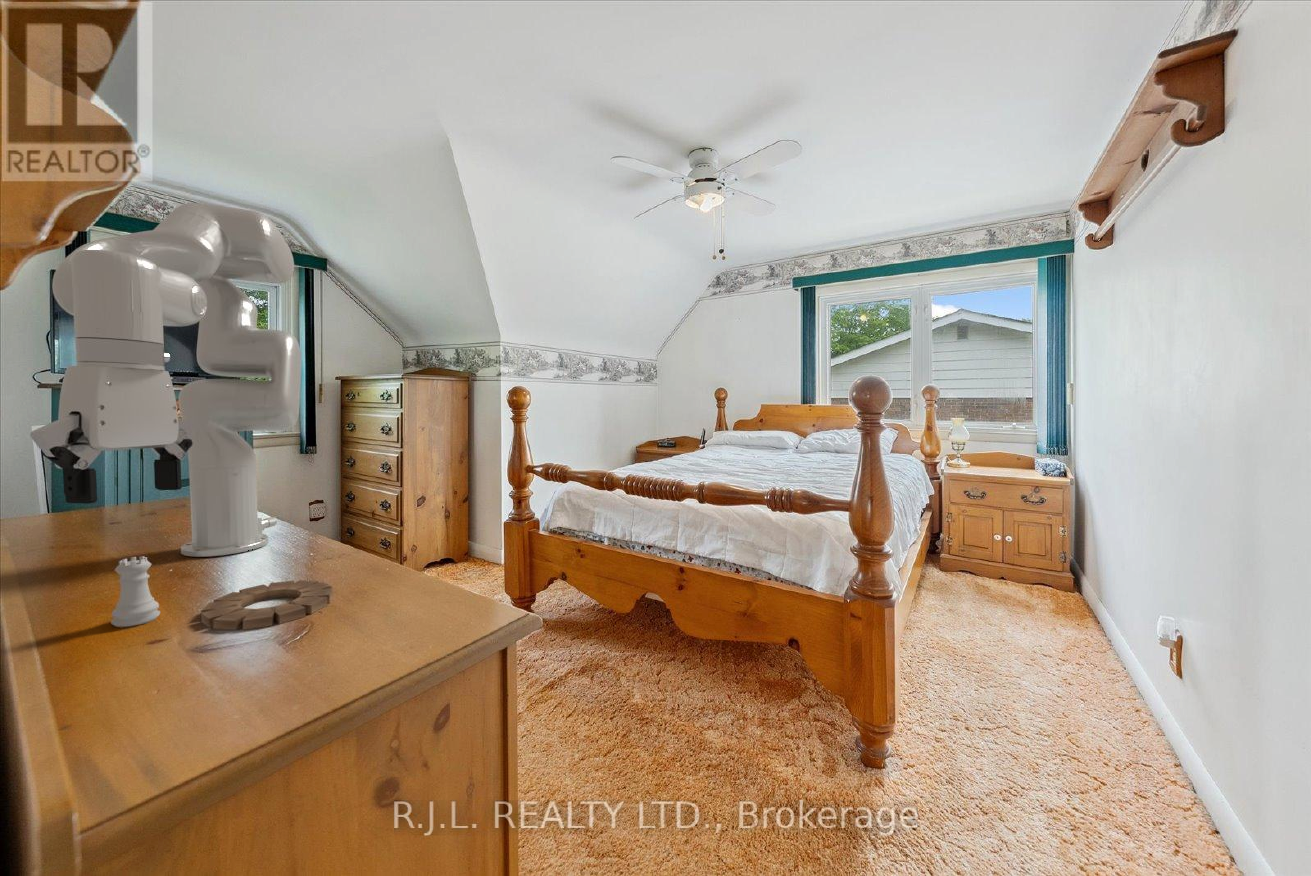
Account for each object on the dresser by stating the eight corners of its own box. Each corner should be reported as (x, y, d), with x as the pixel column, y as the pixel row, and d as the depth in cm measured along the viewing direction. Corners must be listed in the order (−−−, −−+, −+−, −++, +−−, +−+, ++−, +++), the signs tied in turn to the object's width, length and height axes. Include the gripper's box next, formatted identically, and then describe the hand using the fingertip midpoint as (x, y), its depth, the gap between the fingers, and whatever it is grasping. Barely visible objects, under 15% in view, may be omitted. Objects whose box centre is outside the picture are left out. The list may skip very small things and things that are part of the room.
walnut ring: (266, 586, 77) (265, 578, 77) (353, 590, 76) (353, 582, 76) (172, 626, 63) (171, 617, 63) (277, 632, 62) (277, 623, 62)
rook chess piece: (128, 630, 62) (125, 566, 62) (100, 626, 63) (97, 563, 62) (170, 615, 66) (167, 555, 66) (143, 612, 67) (140, 552, 67)
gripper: (166, 363, 71) (171, 484, 72) (-2, 348, 54) (7, 508, 55) (216, 363, 71) (220, 486, 72) (62, 349, 53) (71, 510, 54)
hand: (128, 495), depth 63 cm, fingers open, 9 cm apart
